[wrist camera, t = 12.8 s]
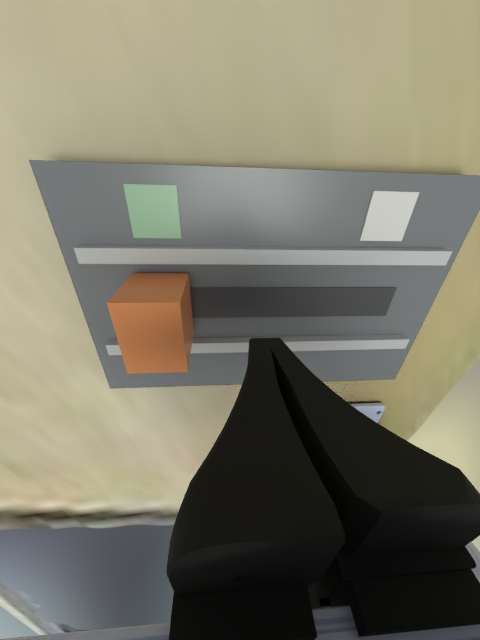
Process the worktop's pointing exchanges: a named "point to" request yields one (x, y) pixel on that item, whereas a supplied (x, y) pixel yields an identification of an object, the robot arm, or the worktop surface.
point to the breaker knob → (154, 322)
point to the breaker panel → (263, 258)
